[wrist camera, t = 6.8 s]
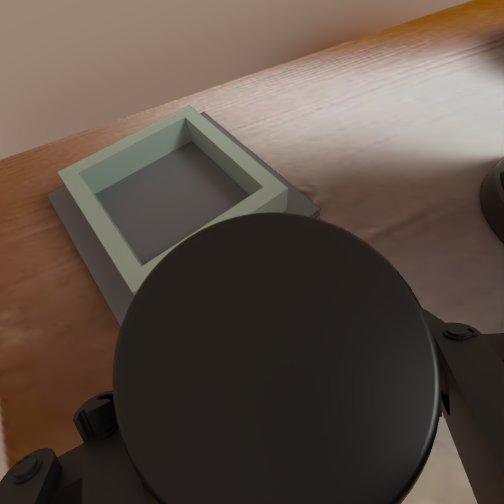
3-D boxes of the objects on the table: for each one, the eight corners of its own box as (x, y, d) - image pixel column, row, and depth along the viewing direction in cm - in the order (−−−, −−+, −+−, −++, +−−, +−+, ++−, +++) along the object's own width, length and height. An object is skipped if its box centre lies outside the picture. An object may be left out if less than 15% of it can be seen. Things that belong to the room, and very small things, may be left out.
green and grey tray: (205, 119, 37) (198, 87, 33) (319, 215, 28) (325, 186, 25) (52, 200, 31) (25, 173, 28) (136, 349, 23) (112, 337, 19)
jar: (374, 437, 16) (557, 480, 6) (235, 501, 15) (141, 697, 5) (303, 294, 20) (331, 168, 10) (192, 338, 19) (93, 250, 9)
